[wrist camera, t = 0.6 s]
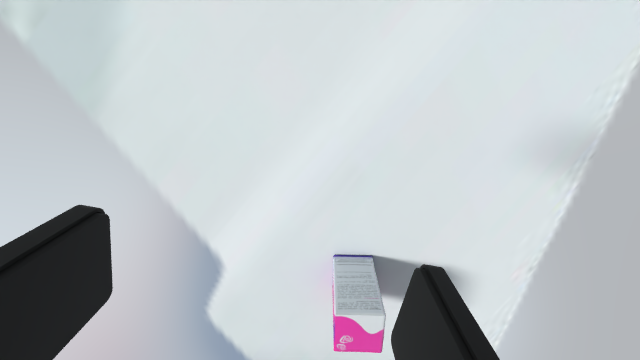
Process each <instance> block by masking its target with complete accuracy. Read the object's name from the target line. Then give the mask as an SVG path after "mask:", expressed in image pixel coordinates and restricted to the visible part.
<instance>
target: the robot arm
mask: <svg viewBox="0 0 640 360" xmlns="http://www.w3.org/2000/svg"><path fill="white" fill-rule="evenodd" d="M110 242H111V241H110V219H109V216H108V215H107V214H105V212H104V211H103V209H101V208H96V207H90V206H84V205H77V206H75V207H73V208H71V209H69V210H68V211H66V212H64V213H62V214H60V215H58V216H57V217H55V218H53V219H51V220H49V221H47V222H46V223H44V224H42V225H40V226H38V227H36V228H35V229H33V230H31V231H29V232H27V233H25V234H24V235H22V236H20V237H18V238H17V239H15V240H13V241H11V242H9V243H7V244H5V245H4V246H2V247H0V360H53V359H54V358H55V357H56V355H57V354H58V353H59V352H60V351H61V350H62V349H63V347H65V346H66V345H67V344H68V343H69V341H70V340H71V339H72V338H73V337H74V336H75V335H76V334H77V333H78V332H79V331H80V330H81V329H82V327H84V325H85V324H86V323H87V322H88V321H89V320H90V319H91V318H92V317H93V316H94V315H95V313H97V312H98V310H99V309H100V308H101V307H102V306H103V305H104V304H105V303H106V302H107V300H108V299H109V297H110V295H111V293H112V267H111V265H112V264H111V243H110ZM391 344H392V349H393V353H394V357H395V360H500V359H499V358H498V356H497V354H496V353H495V351H494V350H493V348H492V346H491V345H490V343H489V341H488V340H487V338H486V337H485V335H484V333H483V332H482V330H481V329H480V327H479V325H478V324H477V322H476V320H475V319H474V317H473V316H472V314H471V312H470V311H469V309H468V307H467V306H466V304H465V303H464V301H463V299H462V298H461V296H460V295H459V293H458V291H457V290H456V288H455V286H454V285H453V283H452V282H451V280H450V278H449V277H448V275H447V273H446V272H445V270H444V269H443V268H441V267H437V266H431V265H425V264H424V265H422V266H421V267H420V268H416V269H415V270H414V273H413V275H412V278H411V281H410V284H409V287H408V289H407V292H406V295H405V298H404V301H403V303H402V306H401V309H400V312H399V314H398V317H397V320H396V323H395V326H394V328H393V331H392V335H391Z"/></svg>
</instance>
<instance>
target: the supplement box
mask: <svg viewBox="0 0 640 360" xmlns="http://www.w3.org/2000/svg"><path fill="white" fill-rule="evenodd" d="M385 317H386V315H385V311H384V306H383V302H382V297H381V293H380V289H379V284H378V280H377V276H376V272H375V267H374V262H373V257H372V255H334V256H333V330H334V351H340V352H341V351H342V352H375V353H381V352H382V346H383V338H384V327H385Z"/></svg>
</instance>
